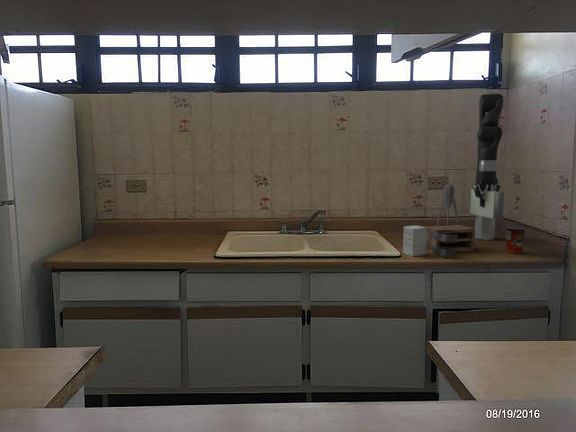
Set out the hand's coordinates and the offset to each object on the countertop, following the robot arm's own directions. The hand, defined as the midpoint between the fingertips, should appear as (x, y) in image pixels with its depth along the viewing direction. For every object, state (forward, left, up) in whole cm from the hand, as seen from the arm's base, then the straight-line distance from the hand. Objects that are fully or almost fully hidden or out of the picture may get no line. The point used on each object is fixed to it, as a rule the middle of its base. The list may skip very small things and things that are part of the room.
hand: (485, 206), depth 211 cm
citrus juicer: (-17, -10, -21) cm, 28 cm away
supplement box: (+2, -38, -21) cm, 43 cm away
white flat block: (+1, +1, -5) cm, 5 cm away
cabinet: (+2, -18, -20) cm, 27 cm away
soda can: (+11, +8, -21) cm, 25 cm away
